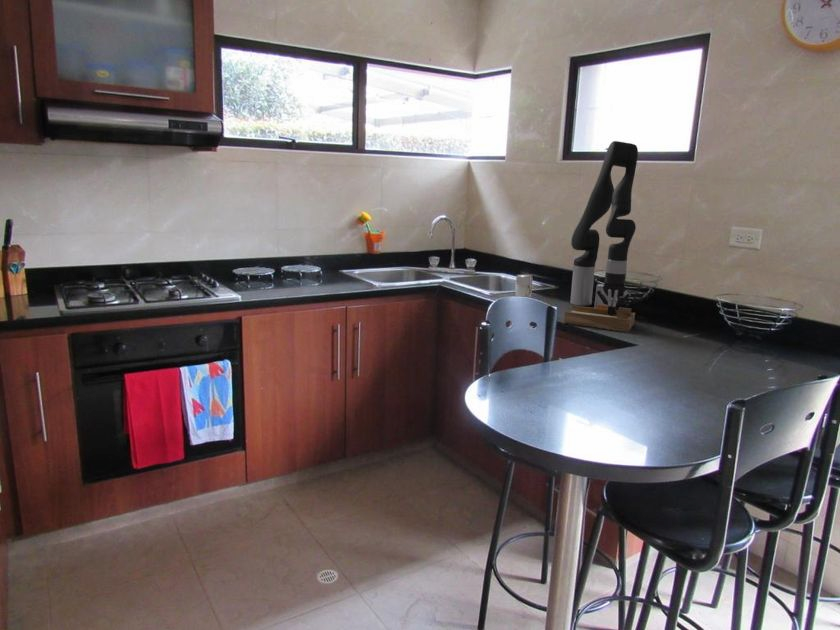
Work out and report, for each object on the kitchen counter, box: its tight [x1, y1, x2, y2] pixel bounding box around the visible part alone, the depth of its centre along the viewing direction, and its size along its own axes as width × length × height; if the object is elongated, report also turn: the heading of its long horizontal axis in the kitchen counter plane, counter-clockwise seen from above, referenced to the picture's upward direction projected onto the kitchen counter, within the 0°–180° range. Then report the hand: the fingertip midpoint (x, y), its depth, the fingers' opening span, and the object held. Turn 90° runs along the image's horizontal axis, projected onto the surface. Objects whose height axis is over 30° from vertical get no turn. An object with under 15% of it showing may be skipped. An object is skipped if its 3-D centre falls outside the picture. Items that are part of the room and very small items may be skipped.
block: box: [616, 306, 632, 319], centre depth 236 cm, size 4×4×4 cm
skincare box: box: [593, 283, 608, 310], centre depth 256 cm, size 6×4×12 cm
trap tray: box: [563, 304, 636, 333], centre depth 238 cm, size 14×24×4 cm, turn 64°
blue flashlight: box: [514, 274, 533, 298], centre depth 255 cm, size 7×7×15 cm
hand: (611, 315), depth 239 cm, fingers closed
